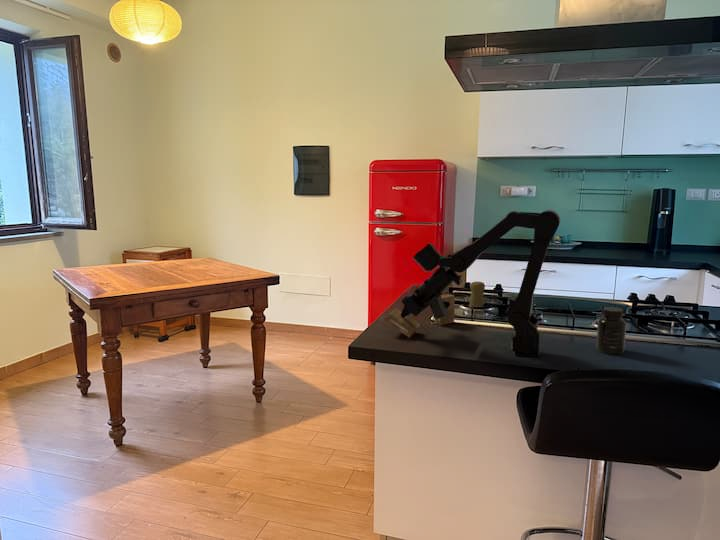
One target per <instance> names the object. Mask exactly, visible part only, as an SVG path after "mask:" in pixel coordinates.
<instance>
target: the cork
mask: <svg viewBox="0 0 720 540" xmlns="http://www.w3.org/2000/svg"><path fill="white" fill-rule="evenodd" d="M469 288H470V291H471V292H470V300H469V303H468V304H469V305H468V308H469V307H470V308H471V307H472V306H473V305H474V306H476V307H479V306H480V307H481V306H483V305H484V304H485V297H484V292H485V288H486V285H485V283H484V282H482V281H473V282H471V283H470V285H469Z"/></svg>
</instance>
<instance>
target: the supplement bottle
mask: <svg viewBox="0 0 720 540" xmlns="http://www.w3.org/2000/svg"><path fill="white" fill-rule="evenodd" d="M623 314H624V310H623V309H622V308H619V307H614V306H613V307H612V306H606V307H605V306H604V307H603V308H602V313H601V315H602V316H601V317H599V319H598V320H597V333H596V350H597V351H598V352H600V353H602V354H604V355H605V354H606V355H611V356H612V355H614V356H617V355H619V356H620V355H622V354H623V353H624V352H625V344H626V343H625V341H626V333H627V332H626V329H627V323H626V320H625V319H623V317H624V315H623Z"/></svg>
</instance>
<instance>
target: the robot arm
mask: <svg viewBox="0 0 720 540" xmlns="http://www.w3.org/2000/svg"><path fill="white" fill-rule="evenodd" d="M560 224H561V217H560V214H559V213H558V212H557V211H556V210H553V209H546V210H543V211H541V212H526V211H524V212H523V211H516V210H512V211H510V212H509V213H507V214H506V216H505V217H503V218H501V220H499V222H497V223H496V224H495V225H493V227H491V228H490V229H489V230H487V231H486V232H485V233H484V234H482V235H481V236H480V237H479V238H477V239H476V240H475V241H474V242H472V243H470V244H468V245H467V246H464V247H463V248H461V249H459V250H457V251H456V252H454V253H451V254H444V255H442V254H441V253H440V252H439V251H438V249H436V247H435V246H434V244H432V242H429V243H427V244H426V245H425V246H423V248H422V249H420V250H419V251H417V252H416V253H415V254H414V255H413V257H412V260H414V261H415V262H416V263H417V264H418V265H419V266H420V267H421V269H422V270H423V271H424V272H426V273H428V272H430V273H432V272H433V273H432V274H431V275H430V276H429V277H428V278H426V279H425V280H424V281H423V283H421V285H419V286H418V287H417V288H416V289H414V291H413V293H408V294H407V295H405V296H404V297H403V298H402V299H401V303H402V304H403V305H404V306H403V308H402V311H401V312H402V313H401V317H402V318H404V317H406V316H409V315H411V314H412V316H415V317H418V316H419V315H420V314H421V313H423V311H424V310H426V308H428V307H429V306H430V309H431V312H432V314H433V317H434V320H435V319H439V318H441V317H444V316H446V315H447V314H448V311H449V310H448V308H449V306H450V305H451V304H450V301H449V300H444V299H442V297H441V295H443V294H444V291H445V290H447V288H449V286H451V285H452V283H455V284H456V285H457V286H460V285H461V284H462V283H463V274H459V273H463V272H465V271H467V270H468V269H469V268H470V267H471V266H472V265H473V264H474V263H475V262H476V261H477V260H478V258H479V257H480V256H481V255H482V254H483V253H484V251H486V250H487V249H488V248H489V247H491V246H492V245H493V244H495V243H496V242H497V241H498V240H500V239H501V238H502V237H503V236H505V235H506V234H507V233H509V232H510V231H511V230H513V229H514V228H515V227H516V228H518V227H519V228H524V229H532V230H533V229H534V231H533V242H532V243H533V244H532V248H531V251H530V254H529V258H528V260H527V261H528V262H527V265H526V268H525V271H524V274H523V277H522V282H521V285H520V287H519V291H518V293H517V295H515V294H511V296H510V298H509V301H508V307H507V309H506V311H505V314H507V316H506V317H507V318H506V319H507V321H508V323H509V325H511V326H512V327H513V333H512V334H511V339H510V342H511V343H510V348H511V351H512V352H513V355H514V356H516V357H537V358H540V357H541V354H540V351H539V349H540V332H539V330H538V327H539V323H540V320H539V319H538V318H537V317H536V316H535V315H534V314H533V312H532V311H533V305H534V303H533V302H534V293H535V290H536V288H537V287H536V286H537V284H538V279H539V277H540V274H541V271H542V267H543V264H544V260H545V257H546V254H547V251H548V247H549V246H550V244H551V242H552V240H553V238H554V236H555V234H556V232H557V231H558V229H559V226H560ZM436 269H437V270H436ZM434 270H435V271H434Z"/></svg>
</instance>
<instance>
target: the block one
mask: <svg viewBox="0 0 720 540" xmlns="http://www.w3.org/2000/svg"><path fill="white" fill-rule="evenodd" d="M401 313H402V311H401V310H400V309H398V308H394V309H393V310H391V311H390V312H389V313H388V315H387V317H386V318H385V319H384V321H385V322H386V323H387V324H389V325H390V326H391V327H392V328H394V329H396V330H397V331H399V332H400V333H402V334H403V335H405V336H406V337H407V338H409V339H410V338H411V337H412V336H413V335H414V334H415V333H416V332H418V331H417V330H418V329H419V327H420V325H421V324H420V323H419V322H417V321H416V320H415V319H413V318H412V317H410V316H409V315H407V316H406V317H404V318H402V317H401Z"/></svg>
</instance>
